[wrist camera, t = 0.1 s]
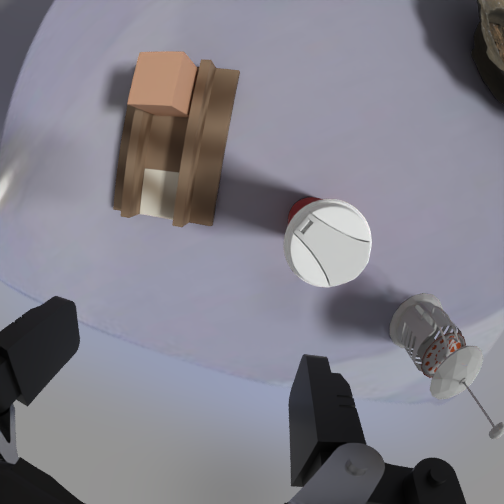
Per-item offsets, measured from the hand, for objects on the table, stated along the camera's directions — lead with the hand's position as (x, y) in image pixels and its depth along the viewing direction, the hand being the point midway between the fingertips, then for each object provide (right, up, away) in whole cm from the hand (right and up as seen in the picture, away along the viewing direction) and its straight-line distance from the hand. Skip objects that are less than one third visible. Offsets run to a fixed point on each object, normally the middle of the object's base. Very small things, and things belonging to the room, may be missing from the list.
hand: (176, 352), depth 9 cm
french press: (+28, -7, +31) cm, 42 cm away
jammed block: (-7, +23, +23) cm, 33 cm away
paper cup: (+10, +7, +28) cm, 30 cm away
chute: (-8, +17, +26) cm, 32 cm away
